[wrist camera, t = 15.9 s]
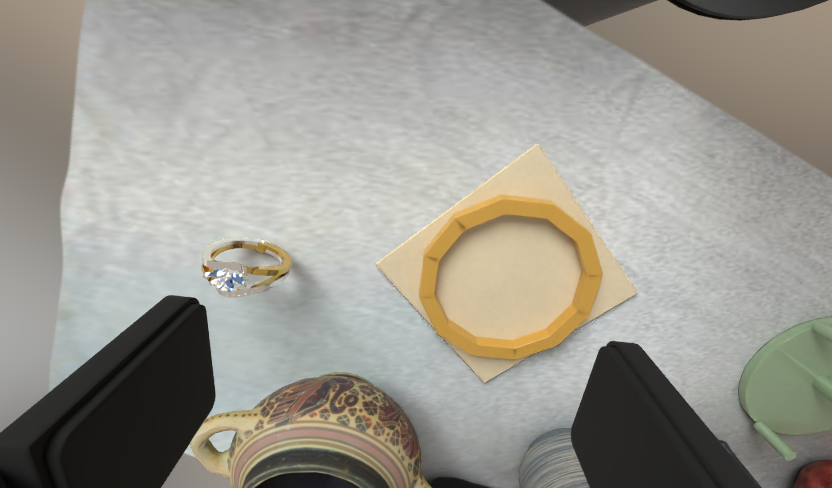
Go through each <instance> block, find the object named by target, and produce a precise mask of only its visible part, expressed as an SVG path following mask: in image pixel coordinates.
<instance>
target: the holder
mask: <svg viewBox="0 0 832 488" xmlns="http://www.w3.org/2000/svg"><path fill="white" fill-rule="evenodd" d="M739 399H740V403H741V405H742V407H743V409H744V410H745V411H746V413H747V414H748V415H749V416H750V417H751V418H752V419H753V420H754V421H755V422H756V423H755V424H754V428H755V430H756V431H757V432H758V433H759V434H760V435H761V436H762V437H763V438H764V439H765V440H766V441H767V442H768V443H769V444H770V445H771V446H772V447H773V448H774V449H775V450H776V451H777V452H778V453H779V454H780V455H781V456H782V458H783V459H784V460H786V461H792V460H794V459H795V458H796V457H797V455H796V453H795V452H794V451H793V450H792V449H791V448H790V447H789V446H788V445H787V444H786V443H785V442H784V441H783V440H782V439H781V438H780V437H779V436H778V435H777V434H776V433H780V434H787V435H806V434H813V433H818V432H823V431H827V430H830V429H832V317H825V318H819V319H815V320H811V321H808V322H805V323H802V324H799V325H797V326H795V327H793V328H790V329H788V330H786V331H785V332H783V333H781V334H779V335H778V336H776V337H775V338H773V339H772V340H771V341H769V342H768V343H767V344H766V345H764V346H763V347H762V348H761V349H760V350H759V351H758V352H757V353H756V354H755V355H754V356H753V358H752V359H751V360H750V361H749V363H748V365H747V366H746V368H745V370H744V372H743V374H742V376H741V379H740V383H739ZM775 432H776V433H775Z"/></svg>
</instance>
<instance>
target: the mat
mask: <svg viewBox="0 0 832 488" xmlns="http://www.w3.org/2000/svg"><path fill="white" fill-rule="evenodd" d="M498 195H510V196H519V197H528V198H537V199H546V200H550V201H552V202H553V203H554V204H556V205H557V206H558V207H560V208H561V209H562V210H563V211H565V212H566V213H567V214H568V215H570V216H571V217H572V218H574V219H575V220H576V221H577V222H579V223H580V224H581V225H582V226H584V227H585V228H586V229H587V230H588V231H590V233H591V234H592V237H593V241H594V244H595V248H596V251H597V255H598V258H599V261H600V265H601V268H602V272H603V276H602V279H601V283H600V286H599V289H598V292H597V295H596V298H595V301H594V304H593V307H592V310H591V313H590V316H589V317H588V318H587V319H586V320H584V321H583V322H582V323H581V324H580V325H579V326H578V327H577V328H579V327H581V326H582V325H584V324H586V323H588V322H589V321H591V320H593V319H594V318H596V317H598V316H600V315H601V314H603V313H605V312H606V311H608V310H610V309H611V308H613V307H615V306H617V305H618V304H620V303H622V302H623V301H625V300H627V299H629V298H630V297H632V296H634V295H635V294H637V291H636V290H635V288H634V287H633V285H632V284H631V282H630V281H629V279H628V278H627V276H626V275H625V273H624V272H623V270H622V269H621V267H620V266H619V264H618V263H617V261H616V260H615V258H614V257H613V255H612V254H611V252H610V251H609V249H608V248H607V246H606V245H605V243H604V242H603V240H602V239H601V237H600V236H599V234H598V233H597V231H596V230H595V228H594V227H593V225H592V224H591V222H590V221H589V219H588V218H587V216H586V215H585V213H584V212H583V210H582V209H581V207H580V206H579V204H578V203H577V201H576V200H575V198H574V197H573V195H572V194H571V192H570V191H569V189H568V188H567V186H566V185H565V183H564V182H563V180H562V179H561V177H560V176H559V174H558V173H557V171H556V170H555V168H554V167H553V165H552V164H551V162H550V161H549V159H548V158H547V156H546V155H545V153H544V152H543V150H542V149H541V147H540V146H539V145H538V144H536V145H534V146H533V147H532V148H530V149H529V150H528V151H526V152H525V153H524V154H522V155H521V156H520V157H518V158H517V159H516V160H514V161H513V162H511V163H510V164H509V165H507V166H506V167H505V168H503V169H502V170H501V171H499V172H498V173H497V174H495V175H494V176H493V177H491V178H490V179H489V180H487V181H486V182H485V183H483V184H482V185H481V186H479V187H478V188H476V189H475V190H474V191H472V192H471V193H470V194H468V195H467V196H466V197H464V198H463V199H462V200H460V201H459V202H458V203H456V204H455V205H454V206H452V207H451V208H450V209H448V210H447V211H446V212H444V213H443V214H442V215H440V216H439V217H437V218H436V219H435V220H433V221H432V222H431V223H429V224H428V225H427V226H425V227H424V228H423V229H421V230H420V231H419V232H417V233H416V234H415V235H413V236H412V237H411V238H409V239H408V240H407V241H405V242H404V243H402V244H401V245H400V246H398V247H397V248H396V249H394V250H393V251H392V252H390V253H389V254H388V255H386V256H385V257H384V258H382V259H381V260H380V261H378V262H377V263H376V266H377V267H378V268H379V269H380V270H381V271H382V272H383V273H384V274H385V276H386V277H387V278H388V279H389V280H390V281H391V282H392V283H393V284H394V285H395V286H396V287H397V289H398V290H399V291H400V292H401V293H402V294H403V295H404V296H405V297H406V298H407V299H408V301H409V302H410V303H411V304H412V305H413V306H414V307H415V308H416V309H417V310H418V311H419V312H420V314H421V315H422V316H423V317H424V318H425V319H426V320H427V321H428V322H429V323H430V324H431V325H432V323H431V321H430V319H429V317H428V315H427V313H426V311H425V309H424V307H423V305H422V303H421V301H420V299H419V287H420V280H421V272H422V264H423V256H424V250H425V248H426V247H427V246H428V245H429V243H430V242H431V241H432V240H433V238H434V237H435V236H436V235H437V233H438V232H439V231H440V230H441V228H442V227H443V226H444V225H445V224H446V222H447V221H448V220H449V219H450V217H451V216H452V215H453V214H454V213H456V212H458V211H461V210H463V209H466V208H468V207H471V206H473V205H476V204H478V203H480V202H483V201H485V200H488V199H490V198H493V197H495V196H498ZM581 271H582V269H581V266H580V263H579V260H578V257H577V253H576V250H575V247H574V244H573V241H572V239H571V238H570V237H569V236H568V235H566V234H565V233H564V232H562V231H561V230H560V229H558V228H557V227H556V226H555V225H553V224H552V223H551V222H549V221H548V220H547V219H541V218H532V217H523V216H514V215H505V214H504V215H502V216H499V217H497V218H494V219H492V220H489V221H487V222H484V223H482V224H479V225H477V226H474V227H472V228H469V229H467V230H465V231H464V232H463V233H462V234H461V235H460V237H459V238H458V239H457V240H456V241H455V243H454V244H453V245H452V246H451V247H450V248H449V250H448V251H447V252H446V253H445V254H444V256H443V257H442V258H441V259H440V260H439V266H438V273H437V280H436V287H435V293H436V295H437V297H438V299H439V301H440V303H441V305H442V307H443V309H444V312H445V314H446V316H447V318H448V319H449V320H451V321H453V322H454V323H456V324H457V325H459V326H460V327H462V328H463V329H465V330H466V331H468V332H470V333H471V334H473V335H474V336H476V337H484V338H494V339H504V340H514V339H516V338H519V337H522V336H525V335H528V334H531V333H534V332H537V331H540V330H543V329H546V328H547V327H548V326H549V325H550V324H551V323H552V322H553V321H554V320H555V319H556V318H557V317H558V316H559V315H560V314H561V313H562V312H563V311H564V310H565V309H566V308H567V307H568V306H570V305H571V304H572V301H573V298H574V295H575V291H576V288H577V285H578V281H579V278H580V275H581ZM432 327H433V325H432ZM433 328H434V327H433ZM577 328H576V329H577ZM576 329H575V330H576ZM443 339H444V340H445V341H446V342H447V343H448V344H449V345H450V346H451V347H452V348H453V349H454V350H455V352H456V353H457V354H458V355H459V356H460V357H461V358H462V359H463V360H464V361H465V362H466V363H467V365H468V366H469V367H470V368H471V369H472V370H473V371H474V372H475V373H476V374H477V375H478V376H479V378H480V379H481V380H482V381H483V382H484V383H485V382H487V381H489V380H490V379H492V378H494V377H496V376H497V375H499V374H501V373H502V372H504V371H506V370H507V369H509V368H511V367H513V366H514V365H516V364H518V363H519V362H521V361H523V360H525V359H526V358H528V357H530V356H531V355H533V354H531V355H528V356H525V357H522V358H519V359H516V360H511V359H501V358H491V357H481V356H472V355H470V354H468V353H467V352H465V351H464V350H462V349H460V348H459V347H457V346H456V345H454V344H453V343H451V342H449V341H448V340H446V339H445V338H443ZM534 354H535V353H534Z"/></svg>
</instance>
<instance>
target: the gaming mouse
mask: <svg viewBox="0 0 832 488" xmlns="http://www.w3.org/2000/svg"><path fill="white" fill-rule="evenodd" d="M428 484H429V485H430V486H431V487H432V488H488V487H485V486H481V485H478V484H474V483H470V482H467V481H464V480H460V479H457V478H438V479H435V480H433V481H431V482H429V483H428Z"/></svg>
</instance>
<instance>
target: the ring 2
mask: <svg viewBox="0 0 832 488" xmlns="http://www.w3.org/2000/svg"><path fill="white" fill-rule="evenodd" d="M504 214H505V215H514V216H523V217H532V218H541V219H547V220H548V221H549V222H551V223H552V224H553V225H555V226H556V227H557V228H558V229H560V230H561V231H562V232H564V233H565V234H566V235H568V236H569V237H570V238H571V239H572V241H573V244H574V247H575V250H576V253H577V257H578V260H579V263H580V266H581V269H582V271H581V275H580V278H579V281H578V285H577V288H576V291H575V295H574V298H573V301H572V304H571V305H570V306H568V307H567V308H566V309H565V310H564V311H563V312H562V313H561V314H560V315H559V316H558V317H557V318H556V319H555V320H554V321H553V322H552V323H551V324H550V325H549V326H548V327H547V328H546V329H543V330H540V331H537V332H534V333H531V334H528V335H525V336H522V337H519V338H516V339H514V340H504V339H494V338H484V337H476V336H474V335H473V334H471V333H470V332H468V331H466V330H465V329H463V328H462V327H460V326H459V325H457V324H456V323H454V322H453V321H451V320H449V319H448V318H447V316H446V314H445V312H444V309H443V307H442V305H441V303H440V301H439V299H438V297H437V295H436V293H435V287H436V280H437V273H438V266H439V260H440V259H441V258H442V257H443V256H444V254H445V253H446V252H447V251H448V250H449V248H450V247H451V246H452V245H453V244H454V243H455V241H456V240H457V239H458V238H459V237H460V235H461V234H462V233H463V232H464V231H465V230H467V229H469V228H472V227H474V226H477V225H479V224H482V223H484V222H487V221H489V220H492V219H494V218H497V217H499V216H502V215H504ZM602 276H603V272H602V268H601V265H600V261H599V258H598V255H597V251H596V248H595V244H594V241H593V237H592V234H591V233H590V231H588V230H587V229H586V228H585V227H584V226H582V225H581V224H580V223H579V222H577V221H576V220H575V219H574V218H572V217H571V216H570V215H568V214H567V213H566V212H565V211H563V210H562V209H561V208H560V207H558V206H557V205H556V204H554V203H553V202H552V201H550V200H546V199H537V198H528V197H519V196H510V195H498V196H495V197H493V198H490V199H488V200H485V201H483V202H480V203H478V204H476V205H473V206H471V207H468V208H466V209H463V210H461V211H458V212H456V213H454V214H453V215H452V216H451V217H450V219H449V220H448V221H447V222H446V224H445V225H444V226H443V227H442V228H441V230H440V231H439V232H438V233H437V235H436V236H435V237H434V238H433V240H432V241H431V242H430V243H429V245H428V246H427V247H426V248H425V250H424V256H423V264H422V272H421V280H420V287H419V299H420V301H421V303H422V305H423V307H424V309H425V311H426V313H427V315H428V317H429V319H430V321H431V323H432V325H433V327H434V329H435V331H436V333H437V334H438V335H440V336H441V337H443V338H445V339H446V340H448V341H449V342H451V343H453V344H454V345H456V346H457V347H459V348H460V349H462V350H464V351H465V352H467V353H468V354H470V355H472V356H481V357H491V358H501V359H511V360H516V359H519V358H522V357H525V356H528V355H531V354H534V353H537V352H540V351H543V350H546V349H549V348H552V347H555V346H558V345H559V344H560V343H561V342H562V341H563V340H564V339H565V338H566V337H567V336H568V335H569V334H571V333H572V332H573V331H574V330H575V329H576V328H577V327H578V326H579V325H580V324H581V323H582V322H583V321H584V320H586V319H587V318H588V317H589V316H590V313H591V310H592V307H593V304H594V301H595V298H596V295H597V292H598V289H599V286H600V283H601V279H602Z"/></svg>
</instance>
